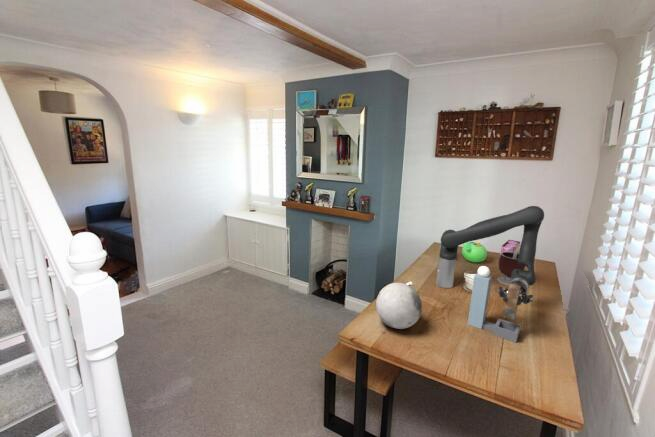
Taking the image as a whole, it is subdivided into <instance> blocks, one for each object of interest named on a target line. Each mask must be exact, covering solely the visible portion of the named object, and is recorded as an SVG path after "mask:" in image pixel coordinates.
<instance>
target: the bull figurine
mask: <svg viewBox="0 0 655 437" xmlns="http://www.w3.org/2000/svg"><path fill="white" fill-rule="evenodd" d="M406 284H407V285H409V286H410V287H412V288H414V286H415V285H414V283H413V282H412V281H407V282H406Z"/></svg>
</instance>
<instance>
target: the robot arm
mask: <svg viewBox="0 0 655 437" xmlns="http://www.w3.org/2000/svg"><path fill="white" fill-rule="evenodd" d="M544 218H545V212H544V210H543V209H542V208H541V207H540V206H537V205H530V206H527V207H524V208H522V209H520V210H517V211H515V212H512V213H509V214H504V215H500V216H496V217H495V216H494V217H491V218H488V219H484V220H481V221H478V222H477V223H474V224H473V225H471V226H468V227H466V228H463V229H460V230H457V231H456V230H453V229H446V230H445V231H443V233H442V234H441V236H440V243H441V244H440V248H441V249H440V248H439V257H438V263H437V264H438V265H437V266H438V267H437V269H436V279H435V286H438V287H440V288H442V289H443V288H444V289H451V288H453V287H454V278H455V272H456V271H455V270H456V262H457V255H458V249H459V246H461V245H463V244H464V243H466V242H467V243H469V242H475V241H478V240H482V239H486V238H491V237H494V236H497V235H501V234H503V233H505V232H507V231H509V230H512V229H514V228H517V227H521V226H523V233H522V239H521V241H520V247H519V253H518V254H519V256H518V263H519V264H521V265H524V266H525V267H526V268H527V270H525V269H524V270H521V269H514V270H513V271H512V273H511V278H512V281H511V282H510V284H514V285H518V286H521V288H520V293H519V298H518V300H517V303H516V305H517V307H518V306H521V304H522V303H523V304H525V305H527V304H529V303H531V302H533V298H534V295H533V294H527V293H528V289H529V286H533V285H535V283H536V281H537V278H536V272H535V260H536V253H537V252H536V251H537V242H538V241H537V240H538V235H539V231H540V228H541V225H542V224H543V221H544ZM510 284H509V285H510ZM509 285H507V287H505V288H503V287H501V286H498V290H497V292H498V295H499V297H500V298H502V301H503V302H504V303H506V300H507V292H508V287H509Z"/></svg>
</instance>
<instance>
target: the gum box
mask: <svg viewBox="0 0 655 437" xmlns="http://www.w3.org/2000/svg"><path fill="white" fill-rule="evenodd" d="M520 245H521V241H519V240H513V239H508V240H507V241H506V242H505V243H503V244H502V245H501V247H500V252H499V258H500V255H501V253H502V252H513V253H514V252H515V251H516V250H517V249H518V248H519V249H520ZM518 254H519V251H518ZM497 265H499V262H498V264H497Z"/></svg>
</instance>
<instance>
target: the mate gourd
mask: <svg viewBox="0 0 655 437" xmlns="http://www.w3.org/2000/svg"><path fill="white" fill-rule="evenodd" d="M519 250H520V247H519V248H518V249H517V250H516V251H515V252H514V253H513V252H502V253H501V255H500V254H499V257H500V258H499V259H498V263H499V264H498V269H499V271H500V273H501V274H503V275H505V276H499V277H497V281H498V282H499V283H500V284H503V285H505V286H509V284H510V282H511V281H512V278H511V273H512V271H513V270H514V269H521V270H525V267H526V266H524V265H521V264H519V263H518V256H519V253H518V251H519Z"/></svg>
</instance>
